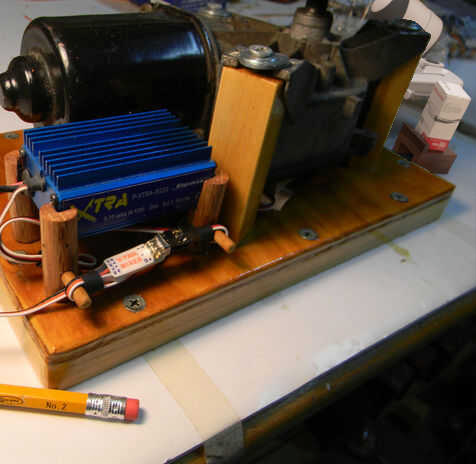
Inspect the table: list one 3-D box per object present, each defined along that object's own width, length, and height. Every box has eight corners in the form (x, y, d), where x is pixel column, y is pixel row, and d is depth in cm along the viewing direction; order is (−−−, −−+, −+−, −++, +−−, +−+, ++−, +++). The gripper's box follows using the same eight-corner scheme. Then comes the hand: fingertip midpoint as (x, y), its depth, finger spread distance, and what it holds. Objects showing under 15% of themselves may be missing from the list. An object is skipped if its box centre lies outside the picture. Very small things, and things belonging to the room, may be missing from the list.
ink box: (445, 153, 98) (473, 99, 91) (421, 148, 99) (447, 95, 91) (435, 134, 105) (460, 83, 97) (412, 130, 105) (436, 79, 98)
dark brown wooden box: (424, 150, 108) (437, 124, 104) (447, 173, 101) (462, 146, 97) (392, 148, 108) (403, 122, 103) (412, 172, 100) (425, 144, 96)
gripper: (365, 57, 109) (391, 79, 98) (448, 62, 111) (482, 86, 100) (356, 83, 113) (380, 108, 102) (436, 88, 115) (467, 113, 104)
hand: (431, 97), depth 101 cm, fingers open, 8 cm apart
